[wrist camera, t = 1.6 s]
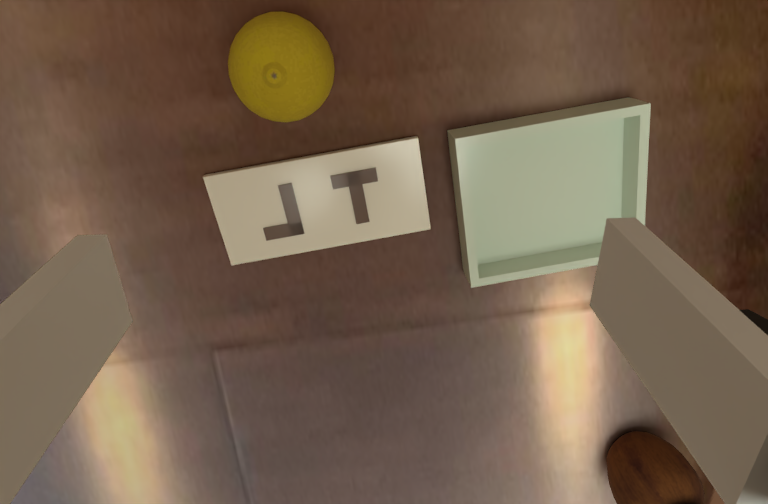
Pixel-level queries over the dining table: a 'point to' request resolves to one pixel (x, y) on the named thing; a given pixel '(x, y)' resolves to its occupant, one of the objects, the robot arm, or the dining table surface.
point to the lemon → (281, 66)
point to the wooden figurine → (651, 472)
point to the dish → (547, 187)
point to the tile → (320, 200)
